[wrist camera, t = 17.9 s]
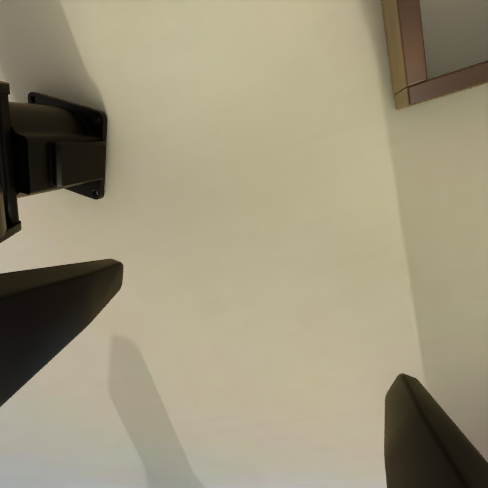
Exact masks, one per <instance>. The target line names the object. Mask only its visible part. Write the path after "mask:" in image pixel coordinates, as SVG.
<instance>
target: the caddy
mask: <svg viewBox="0 0 488 488" xmlns="http://www.w3.org/2000/svg"><path fill="white" fill-rule="evenodd" d="M381 4H382V11H383V19H384V26H385V34H386V41H387V49H388V56H389V64H390V71H391V79H392V86H393V94H395V95H394V101H395V108H396V110H399V109H402V108H406V107H409V106H412V105H416V104H419V103H422V102H426V101H429V100H432V99H436V98H439V97H442V96H446V95H449V94H452V93H456V92H459V91H462V90H465V89H469V88H472V87H475V86H479V85H482V84H485V83H488V61H485V62H482V63H479V64H476V65H473V66H470V67H467V68H464V69H460V70H457V71H454V72H451V73H448V74H445V75H442V76H439V77H436V78H432V79H429V80H427V70H426V61H425V51H424V41H423V32H422V22H421V12H420V3H419V0H381Z"/></svg>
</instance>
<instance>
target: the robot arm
mask: <svg viewBox="0 0 488 488" xmlns="http://www.w3.org/2000/svg"><path fill="white" fill-rule="evenodd" d="M8 94H10V87H9V83H6V82H3V81H0V243H1V242H3V241H4V240H6V239H7V238H9V237H11V236H12V235H14V234H15V233H17V232H18V231H20V230H21V221H19V216H18V204H17V198H20V197H25V196H30V195H35V194H39V193H44V192H49V191H53V190H58V189H63V188H64V189H67V190H70V191H73V192H76V193H79V194H81V195H84V196H87V197H90V198H93V199H100V198H103V196H104V184H105V160H106V135H107V117H106V115H105V113H104V112H102V111H99V110H96V109H92V108H89V107H85V106H82V105H79V104H75V103H72V102H68V101H65V100H62V99H58V98H55V97H51V96H48V95H45V94H41V93H37V92H30V93H29V94H28V104H27V103H16V102H9V101H8ZM98 116H99V117H100V121H99V120H98ZM96 191H97V193H98V195H97V193H96ZM122 280H123V264H122V263H121V262H119V261H117V260H114V259H104V260H97V261H90V262H82V263H75V264H68V265H60V266H53V267H46V268H38V269H31V270H24V271H16V272H9V273H2V274H0V407H1V406H2V405H3V404H4V403H5V402H6V401H7V400H8V399H9V398H10V397H12V396H13V395H14V394H15V393H16V392H17V391H18V390H19V389H20V388H21V387H22V386H23V385H24V384H26V383H27V382H28V381H29V380H30V379H31V378H32V377H33V376H34V375H35V374H36V373H37V372H38V371H40V370H41V369H42V368H43V367H44V366H45V365H46V364H47V363H48V362H49V361H50V360H51V359H52V358H54V357H55V356H56V355H57V354H58V353H59V352H60V351H61V350H62V349H63V348H64V347H65V346H66V345H68V344H69V343H70V342H71V341H72V340H73V339H74V338H75V337H76V336H77V335H78V334H79V333H80V332H82V331H83V330H84V329H85V328H86V327H87V326H88V325H89V324H90V323H91V322H92V321H93V320H94V318H95V317H96V316H97V315H98V314H99V313H100V312H101V311H102V309H103V308H104V307H105V306H106V305H107V304H108V303H109V301H110V300H111V299H112V298H113V297H114V296H115V295H116V293H117V292H118V291H119V290H120V288H121V286H122ZM384 456H385V469H386V480H387V488H488V462H487V461H486V460H485V459H484V458H483V456H482V455H481V454H480V453H479V452H478V450H477V449H476V448H475V447H474V446H473V445H472V443H471V442H470V441H469V440H468V439H467V437H466V436H465V435H464V434H463V433H462V432H461V430H460V429H459V428H458V427H457V426H456V424H455V423H454V422H453V421H452V420H451V419H450V417H449V416H448V415H447V414H446V413H445V411H444V410H443V409H442V408H441V407H440V406H439V404H438V403H437V402H436V401H435V400H434V398H433V397H432V396H431V395H430V394H429V393H428V391H427V390H426V389H425V388H424V387H423V385H422V384H421V383H420V382H419V381H418V380H417V379H416V378H414V377H411V376H409V375H406V374H403V373H402V374H399V375H398V376H397V378H396V379H395V381H394V382H393V384H392V386H391V387H390V389H389V390H388V392H387V394H386V398H385V436H384Z"/></svg>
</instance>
